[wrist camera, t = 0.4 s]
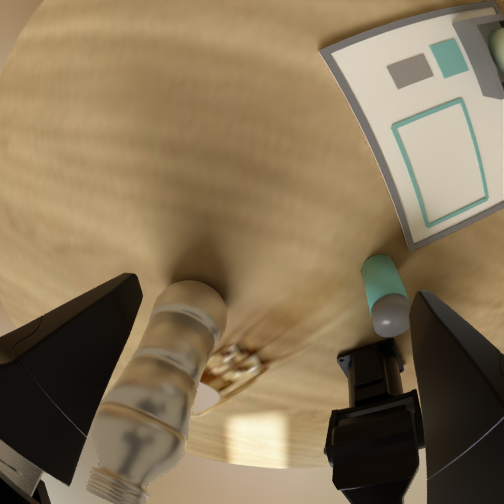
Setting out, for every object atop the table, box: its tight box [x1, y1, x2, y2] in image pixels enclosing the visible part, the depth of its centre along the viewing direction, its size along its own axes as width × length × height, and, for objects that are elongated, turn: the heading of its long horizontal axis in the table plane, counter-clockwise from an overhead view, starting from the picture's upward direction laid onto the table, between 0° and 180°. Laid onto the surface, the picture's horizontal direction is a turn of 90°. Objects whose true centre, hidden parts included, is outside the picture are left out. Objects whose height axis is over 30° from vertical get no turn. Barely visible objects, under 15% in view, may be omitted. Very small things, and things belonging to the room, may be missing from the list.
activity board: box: [318, 0, 504, 252], centre depth 14 cm, size 16×16×3 cm
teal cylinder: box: [361, 254, 411, 337], centre depth 20 cm, size 3×3×6 cm
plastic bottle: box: [86, 280, 227, 504], centre depth 19 cm, size 6×7×20 cm
